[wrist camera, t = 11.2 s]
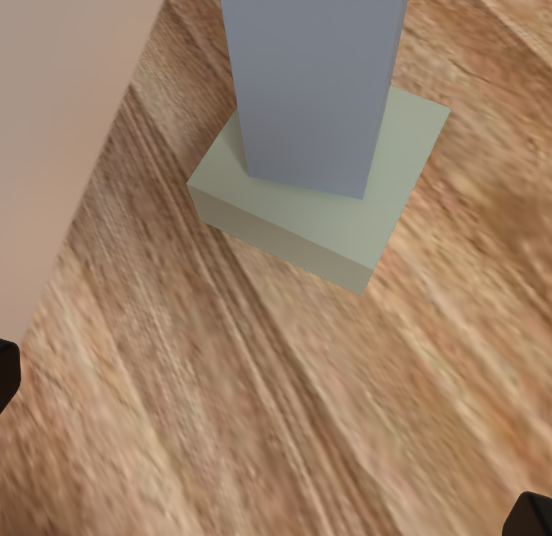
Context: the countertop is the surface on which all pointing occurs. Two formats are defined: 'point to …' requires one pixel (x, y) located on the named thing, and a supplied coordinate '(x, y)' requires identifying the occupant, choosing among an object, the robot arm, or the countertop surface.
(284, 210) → the sage block
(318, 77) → the grey tall block
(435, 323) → the countertop surface
